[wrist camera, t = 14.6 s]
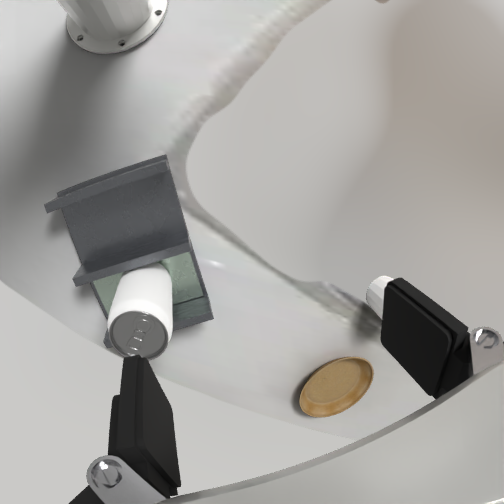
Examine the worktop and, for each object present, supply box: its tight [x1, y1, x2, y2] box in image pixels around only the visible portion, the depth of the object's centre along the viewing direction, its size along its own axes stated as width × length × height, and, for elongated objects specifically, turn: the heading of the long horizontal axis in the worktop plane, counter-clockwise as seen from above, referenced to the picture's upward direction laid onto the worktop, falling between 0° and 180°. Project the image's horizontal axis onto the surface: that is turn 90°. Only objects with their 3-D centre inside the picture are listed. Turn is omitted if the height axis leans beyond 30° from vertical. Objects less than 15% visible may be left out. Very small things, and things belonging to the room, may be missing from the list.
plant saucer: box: [299, 357, 374, 417], centre depth 52 cm, size 15×15×3 cm
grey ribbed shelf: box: [44, 155, 214, 348], centre depth 35 cm, size 20×14×6 cm
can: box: [107, 262, 173, 361], centre depth 32 cm, size 6×6×12 cm
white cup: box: [366, 276, 394, 319], centre depth 45 cm, size 7×7×7 cm
